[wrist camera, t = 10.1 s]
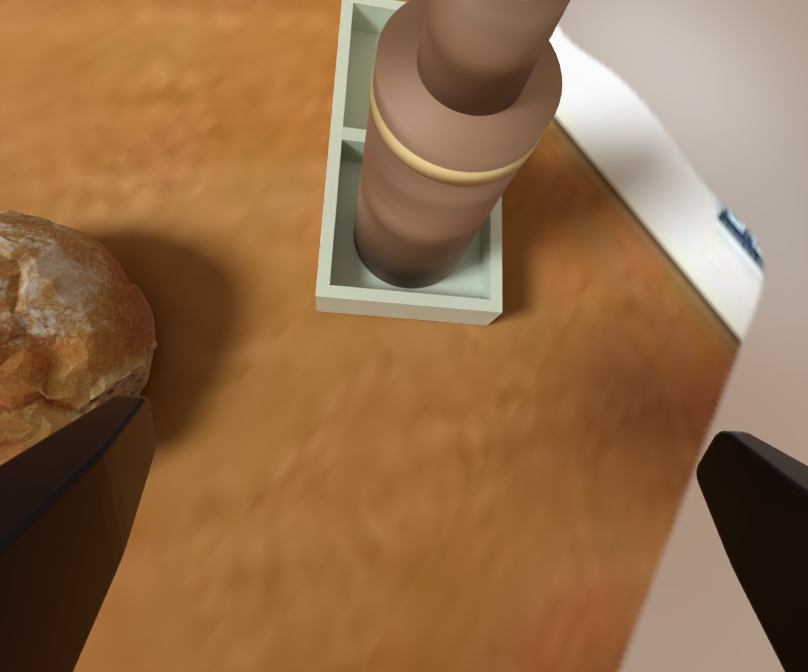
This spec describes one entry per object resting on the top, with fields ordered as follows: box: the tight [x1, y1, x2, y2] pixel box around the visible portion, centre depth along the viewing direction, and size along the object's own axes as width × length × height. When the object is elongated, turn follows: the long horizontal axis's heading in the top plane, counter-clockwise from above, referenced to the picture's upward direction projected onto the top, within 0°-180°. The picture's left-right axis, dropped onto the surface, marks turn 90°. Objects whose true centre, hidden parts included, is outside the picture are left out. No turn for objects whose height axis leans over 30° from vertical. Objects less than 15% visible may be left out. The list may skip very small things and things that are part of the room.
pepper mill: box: [353, 0, 570, 289], centre depth 16 cm, size 5×5×14 cm
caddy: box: [315, 0, 502, 325], centre depth 23 cm, size 14×7×2 cm, turn 177°
